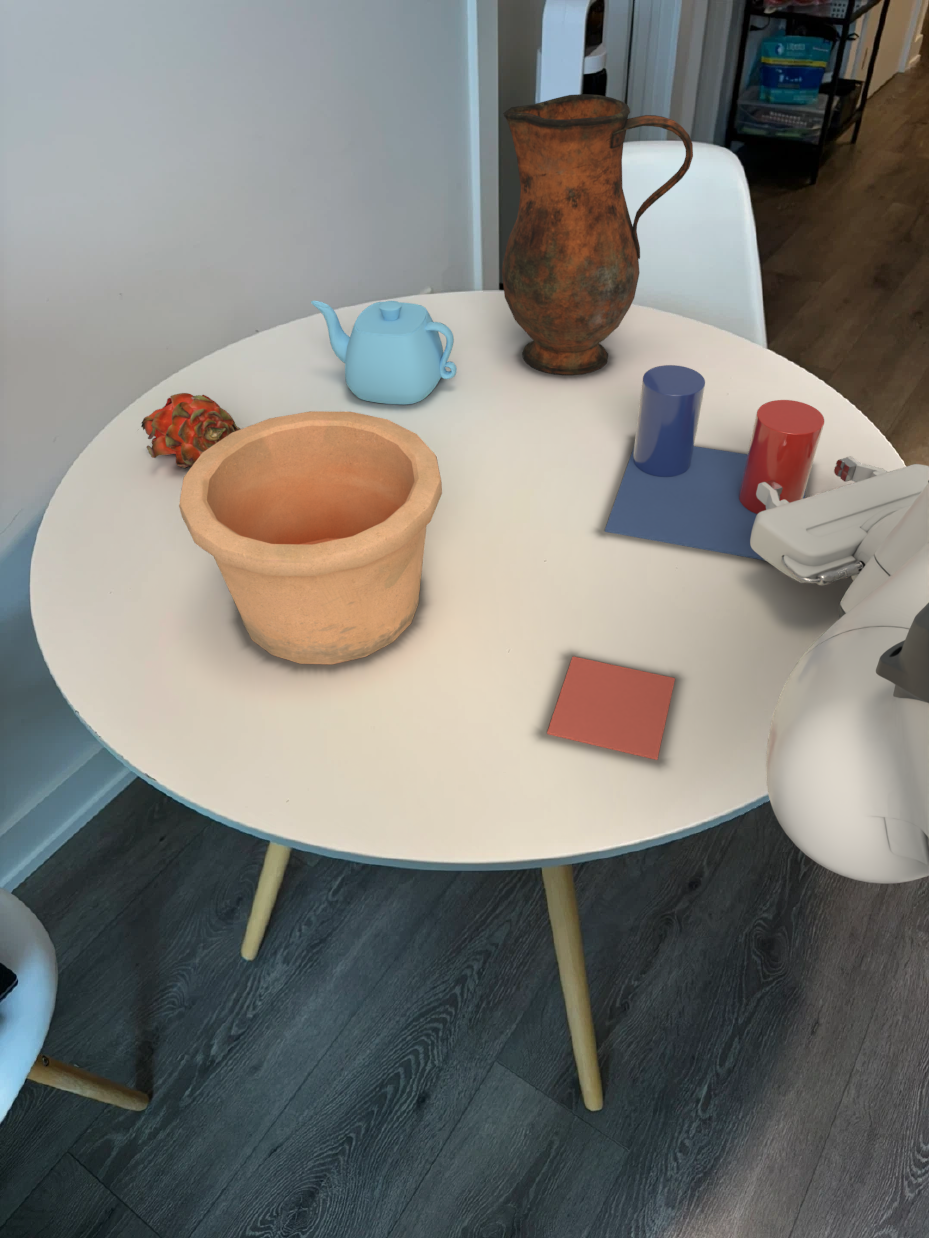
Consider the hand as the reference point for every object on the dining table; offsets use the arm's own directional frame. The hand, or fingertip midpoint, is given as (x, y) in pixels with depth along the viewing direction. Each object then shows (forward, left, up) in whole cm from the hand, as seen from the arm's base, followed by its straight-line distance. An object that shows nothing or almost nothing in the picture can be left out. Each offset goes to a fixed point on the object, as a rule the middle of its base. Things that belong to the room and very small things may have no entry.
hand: (802, 475), depth 91 cm
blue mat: (+8, -2, -6) cm, 10 cm away
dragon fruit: (+65, +7, -6) cm, 66 cm away
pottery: (+40, +25, -6) cm, 48 cm away
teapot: (+50, -15, -6) cm, 53 cm away
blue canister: (+14, -7, -6) cm, 17 cm away
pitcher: (+28, -28, -6) cm, 40 cm away
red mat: (+12, +30, -6) cm, 33 cm away
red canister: (+2, -3, -6) cm, 7 cm away
